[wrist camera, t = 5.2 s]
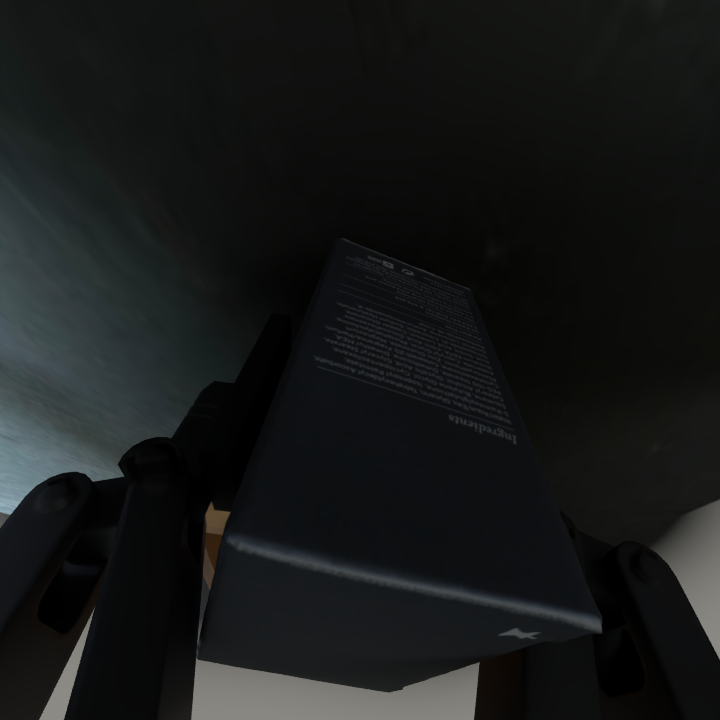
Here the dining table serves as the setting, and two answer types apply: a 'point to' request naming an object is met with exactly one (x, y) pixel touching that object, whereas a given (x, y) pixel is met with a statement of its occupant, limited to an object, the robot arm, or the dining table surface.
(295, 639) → the box
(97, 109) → the dining table surface
